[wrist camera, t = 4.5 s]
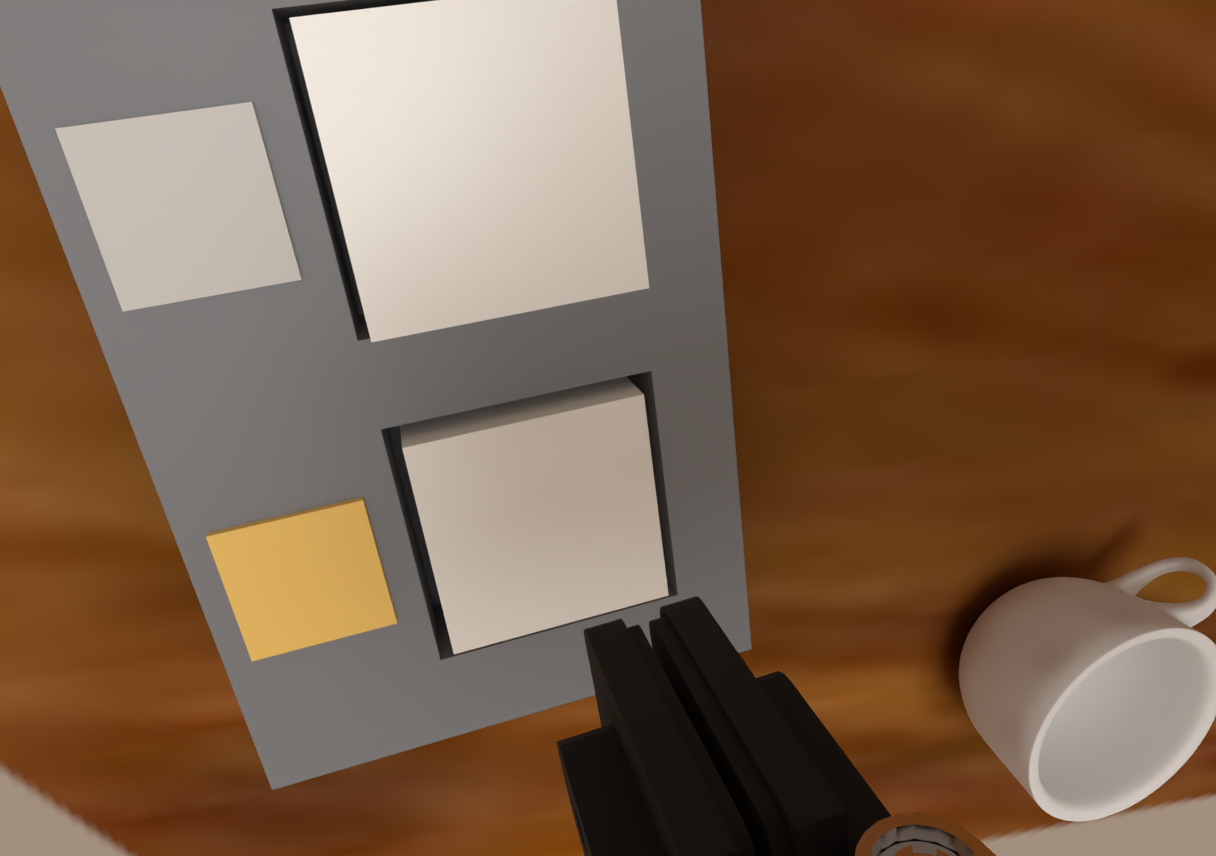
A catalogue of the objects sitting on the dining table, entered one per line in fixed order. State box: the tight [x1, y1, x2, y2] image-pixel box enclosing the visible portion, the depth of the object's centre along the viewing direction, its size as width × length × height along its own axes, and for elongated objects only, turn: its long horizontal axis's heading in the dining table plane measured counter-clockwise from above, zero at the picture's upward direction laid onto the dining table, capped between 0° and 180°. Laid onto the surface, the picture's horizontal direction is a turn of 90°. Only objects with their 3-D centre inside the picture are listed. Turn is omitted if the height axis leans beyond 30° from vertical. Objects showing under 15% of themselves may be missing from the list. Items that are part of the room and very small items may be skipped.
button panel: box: [0, 0, 752, 790], centre depth 19 cm, size 14×30×3 cm, turn 8°
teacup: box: [959, 557, 1216, 821], centre depth 30 cm, size 10×8×5 cm
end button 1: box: [400, 376, 669, 654], centre depth 22 cm, size 6×6×3 cm
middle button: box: [289, 0, 649, 343], centre depth 18 cm, size 6×6×3 cm
